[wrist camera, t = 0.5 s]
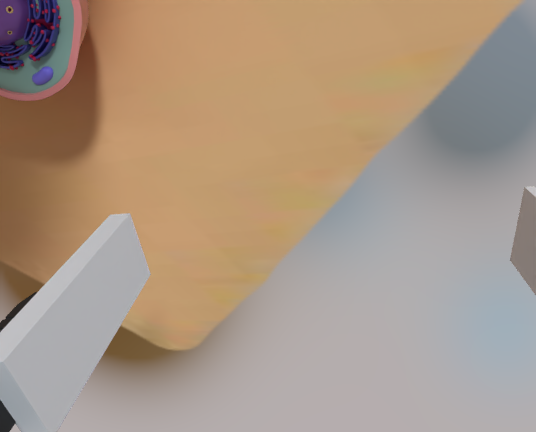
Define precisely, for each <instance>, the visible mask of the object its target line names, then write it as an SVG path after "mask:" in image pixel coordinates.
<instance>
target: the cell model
mask: <svg viewBox="0 0 536 432" xmlns="http://www.w3.org/2000/svg"><path fill="white" fill-rule="evenodd" d="M88 19H89V8H88V0H0V96H3V97H6V98H9V99H14V100H20V101H34V100H41V99H44V98H47V97H49V96H52V95H53V94H55V93H57V92H58V91H60V90H61V89H63V88H64V87H65V86H66V85H67V84H68V83H69V81H70V80H71V78H72V76H73V74H74V72H75V68H76V64H77V60H78V55H79V51H80V47H81V45H82V42H83V39H84V37H85V34H86V31H87V25H88Z"/></svg>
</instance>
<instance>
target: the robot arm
mask: <svg viewBox="0 0 536 432" xmlns="http://www.w3.org/2000/svg"><path fill="white" fill-rule="evenodd" d="M510 261H511V262H512V263H513V265H514V266H515V267H516V269H517V270H518V271H519V272H520V274H521V276H522V277H523V278H524V280H525V281H526V282H527V284H528V285H529V286H530V288H531V289H532V291H533V292H534V293H535V295H536V186H534V187H525V188H524V193H523V198H522V203H521V208H520V213H519V218H518V223H517V228H516V233H515V238H514V243H513V248H512V253H511V258H510ZM150 275H151V274H150V271H149V268H148V265H147V262H146V259H145V256H144V253H143V250H142V247H141V245H140V242H139V239H138V236H137V233H136V230H135V227H134V224H133V221H132V218H131V215H130V213H128V214H113V215H110V216H109V217H108V218H107V219H106V220H105V221H104V222H103V223H102V224H101V225H100V226H99V227H98V228H97V230H96V231H95V232H94V233H93V234H92V235H91V236H90V237H89V238H88V239H87V240H86V241H85V242H84V243H83V244H82V246H81V247H80V248H79V249H78V250H77V251H76V252H75V253H74V254H73V255H72V256H71V257H70V258H69V259H68V260H67V261H66V263H65V264H64V265H63V266H62V267H61V268H60V269H59V270H58V271H57V272H56V273H55V274H54V275H53V276H52V277H51V279H50V280H49V281H48V282H47V283H46V284H45V285H44V286H43V287H42V288H41V289H40V290H39V291H38V292H35V293H34V294H32V295H31V296H29V297H28V298H26V299H25V300H23V301H22V302H20V303H19V304H18V305H17V306H16V307H15V308H14V309H13V310H12V311H11V312H10V313H9V314H8V315H7V316H6V319H5V320H2V321H1V323H0V432H9V431H10V430H11V428H12V427H13V426H14V424H16V425H17V427H18V428H19V429H20V431H21V432H57V431H58V429H59V428H60V426H61V424H62V423H63V421H64V419H65V418H66V416H67V414H68V413H69V411H70V409H71V407H72V406H73V404H74V402H75V401H76V399H77V397H78V395H79V394H80V392H81V390H82V389H83V387H84V386H85V384H86V382H87V381H88V379H89V377H90V375H91V374H92V372H93V370H94V369H95V367H96V365H97V363H98V362H99V360H100V358H101V357H102V355H103V354H104V352H105V350H106V349H107V347H108V345H109V343H110V342H111V340H112V338H113V337H114V335H115V333H116V331H117V330H118V328H119V327H120V325H121V323H122V322H123V320H124V318H125V317H126V315H127V313H128V312H129V310H130V308H131V306H132V305H133V303H134V301H135V300H136V298H137V296H138V295H139V293H140V291H141V290H142V288H143V286H144V285H145V283H146V281H147V280H148V278H149V276H150Z"/></svg>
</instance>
